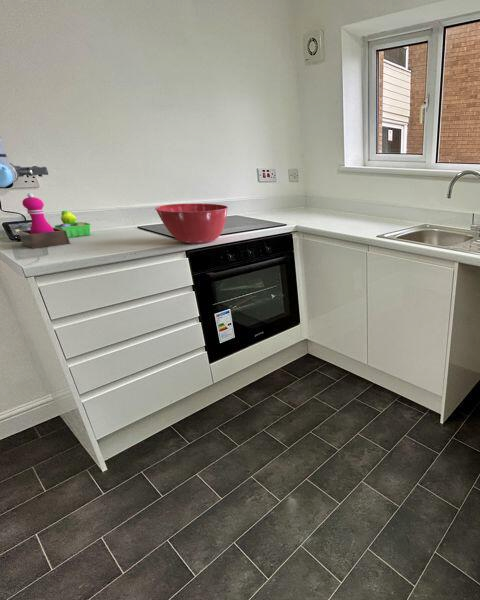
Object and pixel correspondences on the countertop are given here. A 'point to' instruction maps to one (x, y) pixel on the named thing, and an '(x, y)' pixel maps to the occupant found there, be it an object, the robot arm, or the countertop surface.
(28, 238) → the holder
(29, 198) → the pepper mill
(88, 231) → the fruit basket
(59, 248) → the countertop surface
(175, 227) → the mixing bowl
